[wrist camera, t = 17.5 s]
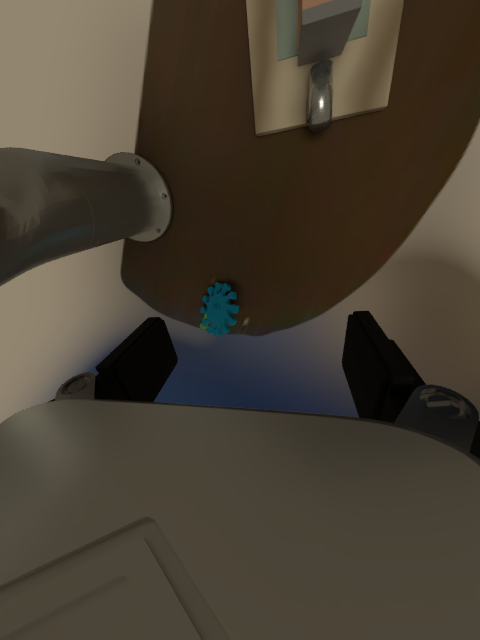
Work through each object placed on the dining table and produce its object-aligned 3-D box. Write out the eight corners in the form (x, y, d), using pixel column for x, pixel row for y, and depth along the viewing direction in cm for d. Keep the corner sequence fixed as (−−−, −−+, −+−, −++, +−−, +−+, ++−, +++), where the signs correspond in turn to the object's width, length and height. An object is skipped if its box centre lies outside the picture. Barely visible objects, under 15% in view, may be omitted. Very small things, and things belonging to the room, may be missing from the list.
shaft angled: (307, 136, 26) (309, 129, 23) (308, 73, 24) (311, 56, 21) (327, 132, 26) (333, 124, 23) (331, 67, 23) (338, 49, 20)
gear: (221, 269, 37) (240, 319, 34) (244, 276, 42) (263, 320, 38) (190, 303, 44) (203, 348, 40) (213, 306, 48) (226, 346, 45)
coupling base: (257, 136, 29) (254, 130, 26) (239, -115, 20) (232, -164, 17) (382, 110, 25) (394, 100, 23) (428, -205, 16) (458, -285, 14)
